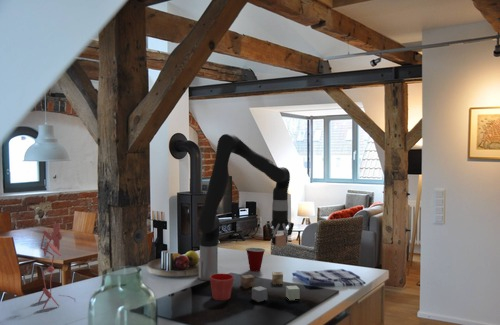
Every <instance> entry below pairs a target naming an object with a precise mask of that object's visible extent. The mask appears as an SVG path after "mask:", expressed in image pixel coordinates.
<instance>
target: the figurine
mask: <svg viewBox="0 0 500 325" xmlns="http://www.w3.org/2000/svg"><path fill="white" fill-rule="evenodd" d="M53 222H54V223H53V226H52V228H53V229H52V231H53V232H51V234H50V233H49V232H48V231H47V230H45V229H44V231H43V235H42V240H41V244H40V247H39V249H40V250H42V251H43V256H44V257H46V256H47V253H48V254H50V255H51V256H52V261H51V266H48V267H47V269H46V270H47V271H45V272H43V273H42V280H43V284H44V287H43V288H42V291H43V292H42V294H41V295H40V298H39V300H38V303H41V300H42V298H43V297H44V295H45V296H46V298H47V299H46V301H45V303H44V305H43V306H42V308H43V309H45V308H46V305H47V303H48V302H49V300H51V299H52V301H53V302H54V303H55V304H56V305H57V307H60V305H59V304H58V302H57V301H56V299H55V298H54V297H53V296H52V275H53V273H54V271H55V268H54V265H53V264H54V259H55V255H54V253H55V254H56V255H58V256H60V257H61V256H62V254H61V252H60V245H61V244H60V243H61V242H60V241H61V240H62V238H63V235H62V233H61V231H60V230H61V227H60V226H61V225H60V222H58V223H57V221H53ZM45 238H47V240H48V241H47V242H46V245H45V247H43V243H44V241H45V240H44V239H45ZM51 241H53V242H51ZM48 248H50V250H52V251H53V252H54V253H52V252H51V251H48ZM46 273H50V277H49V284H50V285H49V287H50V288H49V290H50V291H49V290H48V289H47V287H46V286H47V285H46V281H45V280H46V279H45V276H44V274H46ZM58 296H61V297H64V295H61V294H58ZM67 297H68V298H71V299H74V300H75V297H74V298H73V297H71V296H69V295H67ZM48 312H49V311H47V313H48Z"/></svg>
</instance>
